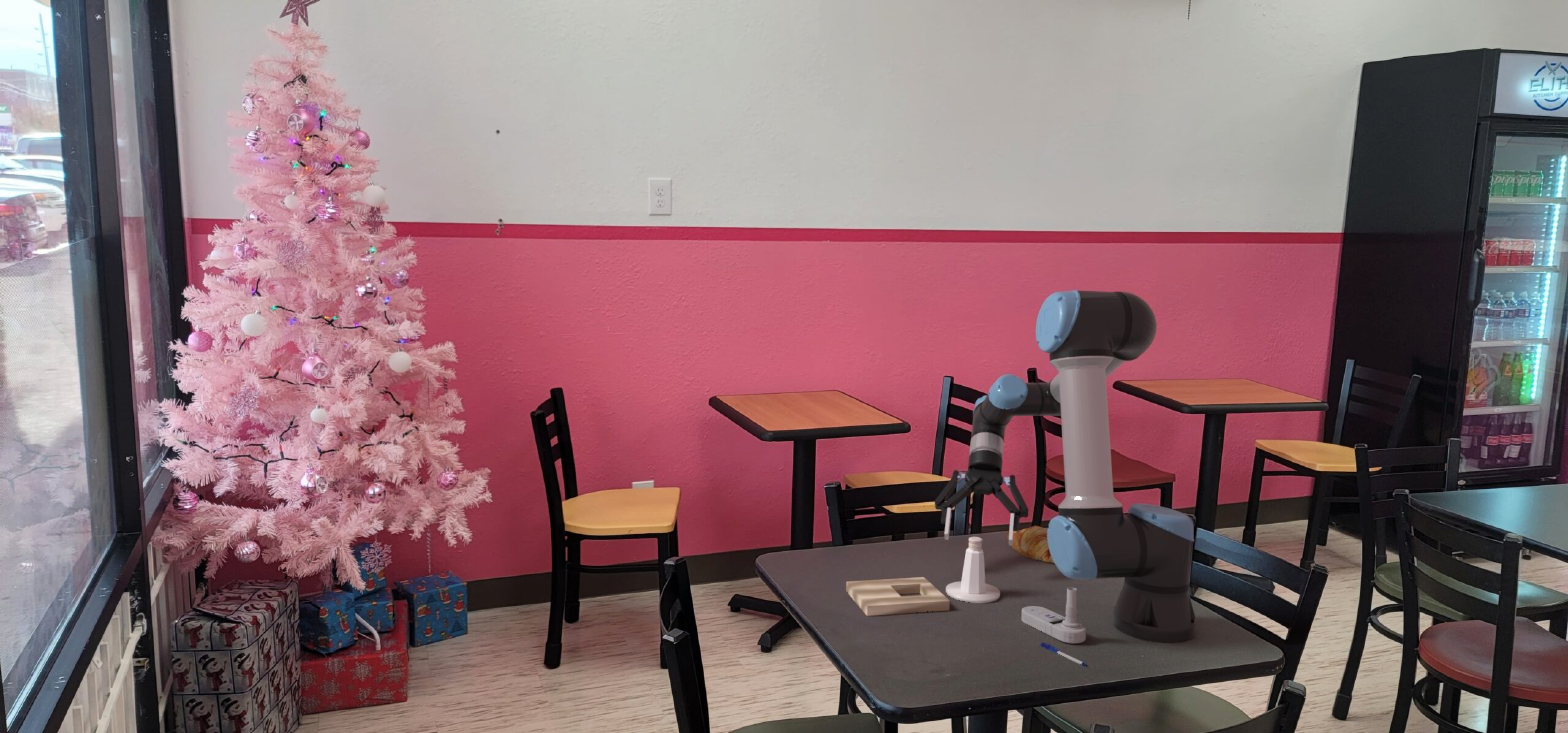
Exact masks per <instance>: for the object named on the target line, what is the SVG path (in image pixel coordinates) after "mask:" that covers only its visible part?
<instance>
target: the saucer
mask: <svg viewBox="0 0 1568 733" xmlns="http://www.w3.org/2000/svg"><path fill="white" fill-rule="evenodd" d="M961 581H962V580H961ZM961 581H960V580H959V581H954V582H950V583H948V584H947V585H946V586H945V593H947V594H946V596H948V597H949V596H950V597H949V598H951V599H953V598H954V600H955V601H958V600H960V601H959V602H962V601H965V602H964V603H968V602H970V603H969V604H989V603H994V602H996V601H998V600H999V599H1000V598H1001V597H1000V596H1001V591H1000V589H999V588H997V586H994V585H991V584H989V583H986V582H985V589H986V592H985V593H981V594H968V593H966V592H963V591H961ZM993 601H994V602H993Z"/></svg>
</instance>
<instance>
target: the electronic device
mask: <svg viewBox="0 0 1568 733" xmlns="http://www.w3.org/2000/svg"><path fill="white" fill-rule="evenodd" d="M1077 600H1078V589H1077V588H1076V587H1073V586H1072V587H1071V586H1070V587H1069V586H1068V587H1067V588H1066V604H1065V616H1063V615H1062V614H1058V613H1057V612H1055V611H1053V610H1050V609H1048V608H1045V607H1043V606H1037V605H1029V606H1028V605H1027V606H1025V607H1022V608H1021V621H1022V623H1024V624H1025V625H1027V624H1028V626H1029V625H1030V627H1031V626H1032V628H1033V627H1034V629H1035V628H1036V630H1037V631H1039V632H1041V631H1042V633H1044V634H1046V635H1048V636H1050V637H1052V638H1054V639H1056V640H1057V641H1060V642H1063V643H1067V644H1073V645H1074V644H1082V643H1084V642H1086V638H1087V637H1086V635H1087V628H1086V627H1085V626H1084V625H1083V624H1081V623H1080V622H1079V621H1078V619H1077V616H1078V605H1077Z"/></svg>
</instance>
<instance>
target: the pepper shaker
mask: <svg viewBox="0 0 1568 733" xmlns="http://www.w3.org/2000/svg"><path fill="white" fill-rule="evenodd" d="M982 546H983V538H981V537H979V536H971V537H968V547H967V548H966V550H965V557H964V561H963V568H962V575H961V591H963V592H966V593H968V594H981V593H985V592H986V589H985V583H986V575H985V574H986V572H985V571H986V569H985V553H984V550H983V549H982V548H983V547H982Z"/></svg>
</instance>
